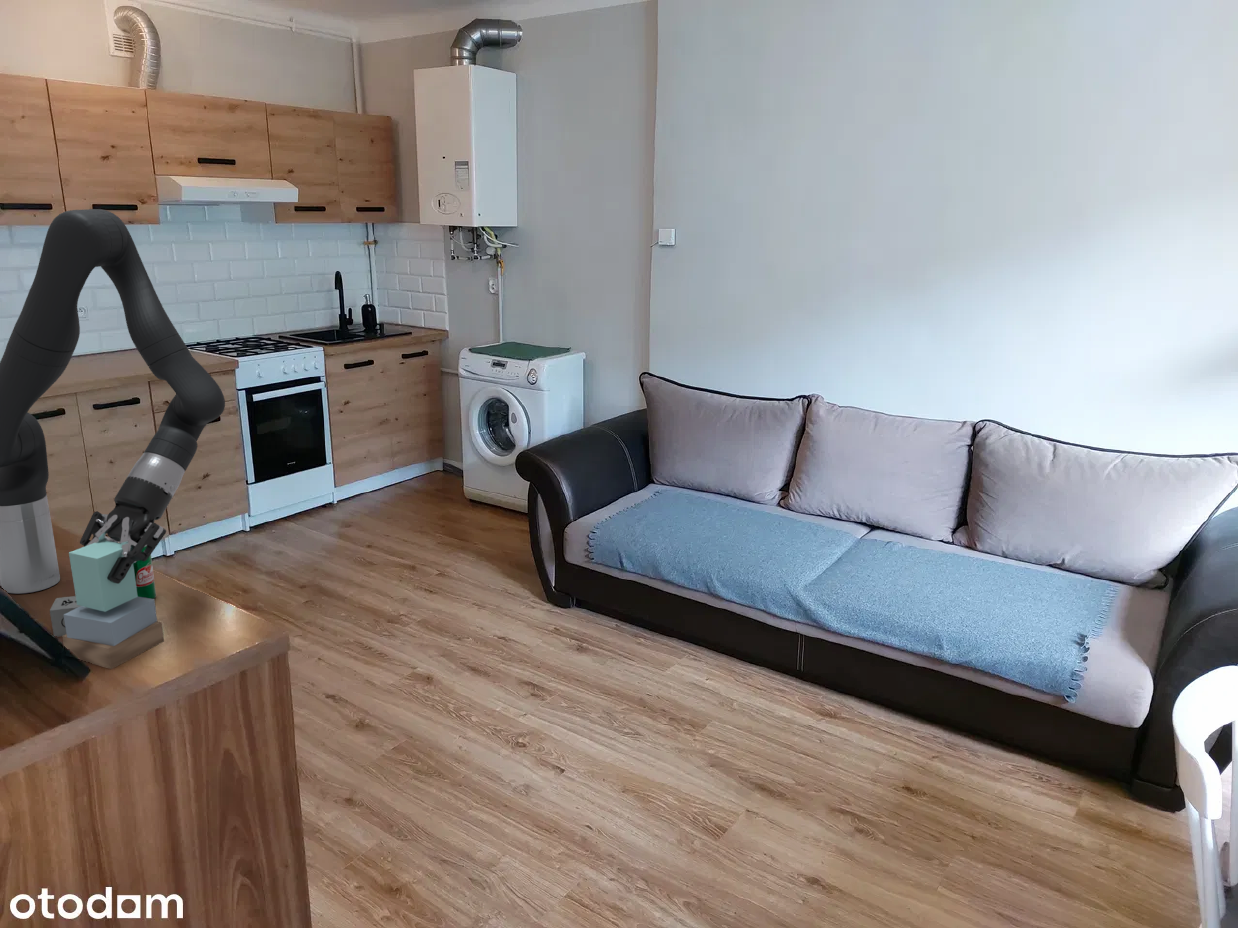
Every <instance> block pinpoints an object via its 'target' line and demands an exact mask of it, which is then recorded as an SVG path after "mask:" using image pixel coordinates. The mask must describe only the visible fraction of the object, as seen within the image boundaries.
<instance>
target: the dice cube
mask: <svg viewBox="0 0 1238 928" xmlns="http://www.w3.org/2000/svg"><path fill="white" fill-rule="evenodd" d="M78 607H80V605H77V601H76V595H73V596H63V597H56V598H55V600H54V602H53V603H52V605H51V607H50V609H49V615H50V621H51V622H50V623H51V626H52V633H53V636H54V635H55V636H57V637H56V638H59V637H62V636H63V635H66V634H67V633H66V627H65V621H64V614H66V613H68V612H70V611H72V610H74V609H76V608H78Z"/></svg>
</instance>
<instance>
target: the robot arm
mask: <svg viewBox="0 0 1238 928" xmlns="http://www.w3.org/2000/svg"><path fill="white" fill-rule="evenodd" d="M97 267H100V268H101V269H102V270H103V271H104V273H106V275H107V276H108V278H109V279H110V281H112V283H113V285H114V287H115V289H116V290H117V293H118V296H119V297H120V301H121V303H122V304H121V305H122V307H123V311H124V312H123V313H124V319H125V322H126V327H127V330H128V331H127V332H128V333H129V334H128V335H129V336H130V339H131V341H132V343H133V345H134V346H135V348H136V350H137V351H138V353H139V354H140V356H141V358H142V360H143V361H144V362H145V364H146V365H147V367H148V368H149V371H151V373H152V374H153V375H154V376H155V378H157V379H159V380H162V381H165V382H166V383H167V384H168V386H170V387H171V389H172V390H173V391H174V393H175V395H174V396H173V398H172V399H171V400H170V402H169V404H168V406H167V408H166V410H165V412H164V413H163V414H164V415H163V416H162V419H161V421H160V424H159V427H158V429H157V431H156V433H155V434H154V435H153V436H152V437H151V440H150V441H149V443H148V444H147V446H146V448H145V450H144V452H142V453H143V454H141V456H140V458H138V460H137V461H136V462H135V463H134V465H133V467H132V468H131V470H130V471H129V473H128V475H127V477H126V478H125V480H124V481H123V483H122V485H121V486H120V488H119V490H118V492H117V493H116V495H115V496H114V498H113V499H114V503H115V505H114V506H115V507H114V508H113V509H112V510H111V511H110V512H109V513H107V514H106V513H101V512H99V511H96V510H95V511H94V512H93V513H92V515H91V516H90V520H89V522H88V523H87V526H86V528H85V529H84V532H83V533H82V536H81V538H80V540H79V544H80V545H82V547H85V546H87V545H90V544H93V543H98V542H102V541H106V540H107V541H111V542H116V543H119V542H121V544H122V551H121V558H120V557H118V559H117V561H116V563H115V564H114V566H113V568H112V569H111V571H110V573H109V575H108V577H107V579H108V580H110V581H112V582H113V583H117V584H119V583H120V582H121V581H122V580H123V579H124V578H125V576H126V574H127V572H128V570H129V569H130V567H131V565H132V564H133V563H135V562H137V561H140V560H141V561H146V560H147V559H148V558H149V556H150V555H151V556H152V554H153V552H154V550H156V547H157V546H158V545H159V543H161V541H162V539H163V538H164V536H165V535H166V534H167V530H166V529H165V528H164V527H162V526H161V525H160V524H157V523H156V522H155V521H157V520H158V521H159V520H161V518H162V517H163V515H164V513H165V511H166V510H167V508H168V506H169V504H170V502H171V501H172V499H173V497H174V496H175V494H176V491H177V490H178V488H179V486H180V485H181V482H182V479H183V477H184V475H185V472H186V471H187V469H188V468H189V465H190V464H191V462H192V460H193V459H194V456H195V454H196V452H197V450H198V442H197V441H198V440H199V438H200V437H201V434H202V433H203V431H204V428H205V427H206V426H207V424H209V423H211V422H212V421H214V420H216V419H218V418H219V417H221V415H222V414H223V413H224V411H225V408H226V407H225V406H226V400H225V396H224V393H223V391H222V389H221V387H220V386H219V384H218V383H217V381H216V380H215V379H214V378H213V377H212V376H211V374H210V373H209V372H208V371H207V370H206V369H205V368H204V366H202V365H201V363H199V361H197V360H196V358H194V356H193V355H192V353H191V352H190V350H189V348H188V346H187V344H186V343H185V341H184V340H183V338H182V336H181V335H180V333H179V331H178V330H177V329H176V327H175V325H174V323H172V321H171V319H170V317H169V316H168V314H167V312H166V310H165V308H164V307H163V305H162V303H161V300H160V298H159V296H158V294H157V292H156V290H155V288H154V286H153V284H152V281H151V279H150V277H149V274H148V272H147V270H146V268H145V265H144V263H143V261H142V258H141V256H140V254H139V252H138V248H137V246H136V244H135V242H134V240H133V238H132V235H131V232H130V231H129V230H128V228H127V226H126V224H125V223H124V221H123V220H122V219H121V218H120V217H119V216H118V215H116V214H115V213H114V212H112V211H110V210H107V209H101V208H98V209H97V208H89V209H72V210H65V211H64V212H60V213H59V214H58V215H57V216H55V217H54V218H53V220H52V222H51V223H50V224H49V226H48V230H47V232H46V235H45V238H44V243H43V247H42V249H41V254H40V258H39V261H38V265H37V269H36V273H35V275H34V279H33V282H32V285H31V286H30V288H29V291H28V293H27V296H26V299H25V301H24V304H23V305H22V306H23V307H22V309H21V311H20V314H19V316H18V318H17V320H16V322H15V324H14V325H13V326H14V327H13V328H12V331H11V334H10V336H9V338H8V341H7V344H6V346H5V349H4V353H3V355H2V357H1V359H0V587H1V589H2V588H3V589H4V590H6V591H7V592H6V593H8V594H29V593H34V592H39V591H42V590H46V589H49V588H51V587H53V586H55V585H56V584H58V583H59V582H60V581H61V576H60V570H59V564H58V563H59V562H58V557H57V556H58V555H57V550H56V543H55V542H56V541H55V537H54V529H53V524H52V518H51V512H50V506H49V499H48V495H47V494H48V493H47V484H48V483H49V482H48V481H49V477H50V476H49V475H50V474H49V463H48V452H47V445H46V444H47V443H46V437H45V434H44V430H43V428H42V426H41V424H40V422H39V421H38V419H37V418H36V417H35V416H34V415H32V414H31V413H29V410H30V409H31V408H32V407H33V405H34V404H35V403H36V402H37V401H38V400H39V399H40V398H41V397H42V396H43V395H44V394H45V393H46V392H48V390H49V389H50V388H51V387H52V386H53V385H54V384H55V383H56V382H57V381H58V379H59V378H60V377H61V376H62V375H63V374H64V372H65V370H66V368H67V367H68V365H69V363H70V361H71V359H72V356H73V354H74V353H75V350H76V348H77V345H78V343H79V338H80V333H81V327H80V319H79V318H80V317H79V312H78V311H79V309H78V305H79V304H78V301H79V298H80V295H81V292H82V290H83V288H84V286H85V283H86V282H87V280H88V278H89V276H90V275H91V273H92V271H93V270H94V269H95V268H97ZM106 535H107V536H106ZM91 537H92V539H91ZM90 539H91V540H90ZM145 545H147V547H146V549H145V550H144V552H142V549H143V548H144V547H145ZM130 547H131V551H130Z"/></svg>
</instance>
